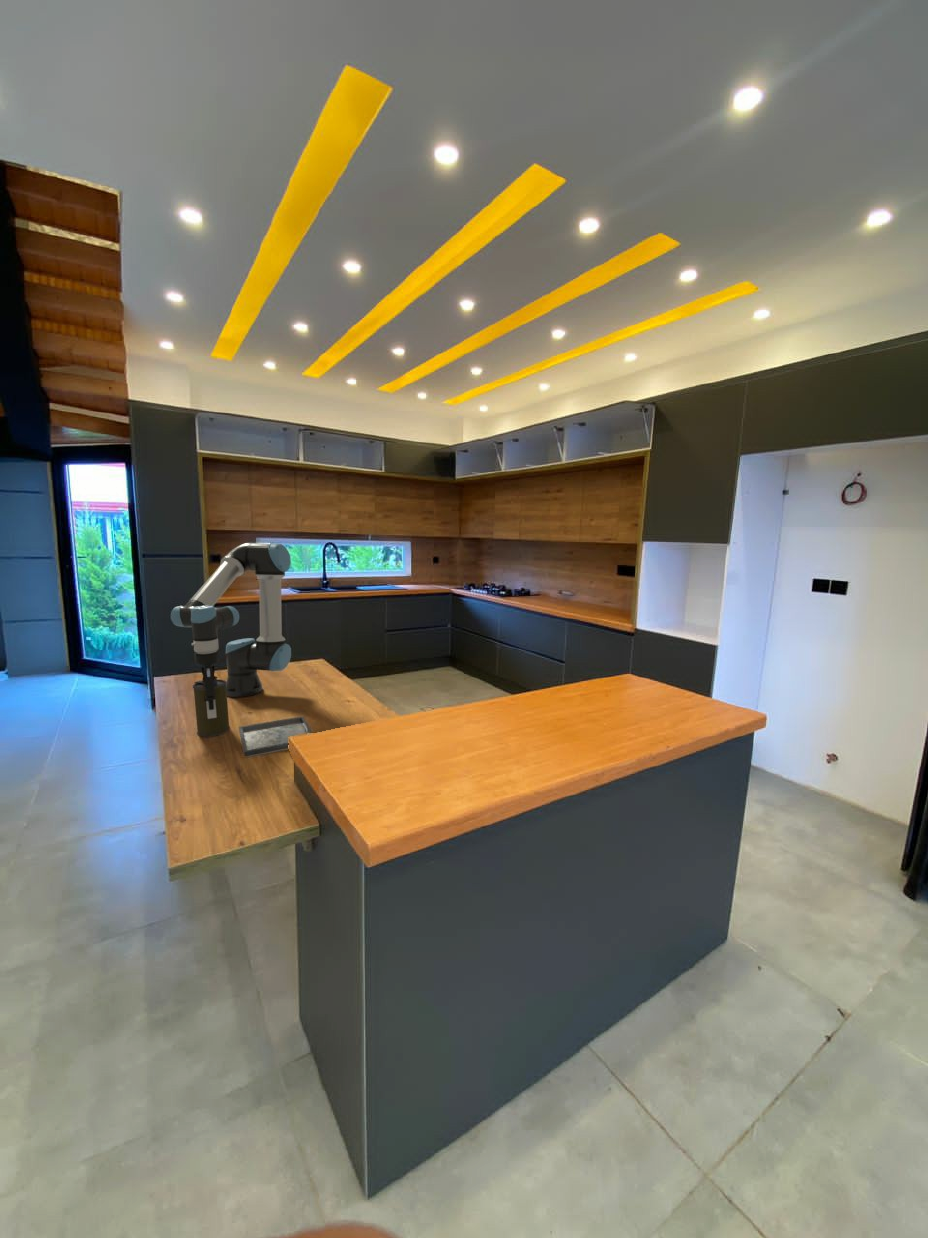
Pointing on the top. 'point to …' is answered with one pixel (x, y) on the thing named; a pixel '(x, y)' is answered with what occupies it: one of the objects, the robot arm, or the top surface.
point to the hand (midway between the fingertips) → (211, 712)
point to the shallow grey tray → (271, 735)
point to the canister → (222, 721)
